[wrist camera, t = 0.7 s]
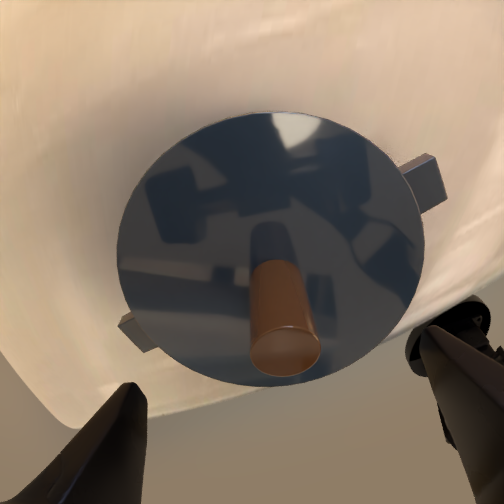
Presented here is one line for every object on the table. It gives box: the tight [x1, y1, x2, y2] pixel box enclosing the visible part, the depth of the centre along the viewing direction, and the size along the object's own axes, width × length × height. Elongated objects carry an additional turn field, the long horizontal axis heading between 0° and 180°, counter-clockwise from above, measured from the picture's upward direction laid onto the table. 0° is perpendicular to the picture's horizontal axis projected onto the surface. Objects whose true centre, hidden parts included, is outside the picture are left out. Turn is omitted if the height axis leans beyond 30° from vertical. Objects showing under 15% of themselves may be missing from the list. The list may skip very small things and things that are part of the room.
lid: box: [117, 111, 425, 387], centre depth 13 cm, size 15×15×6 cm
